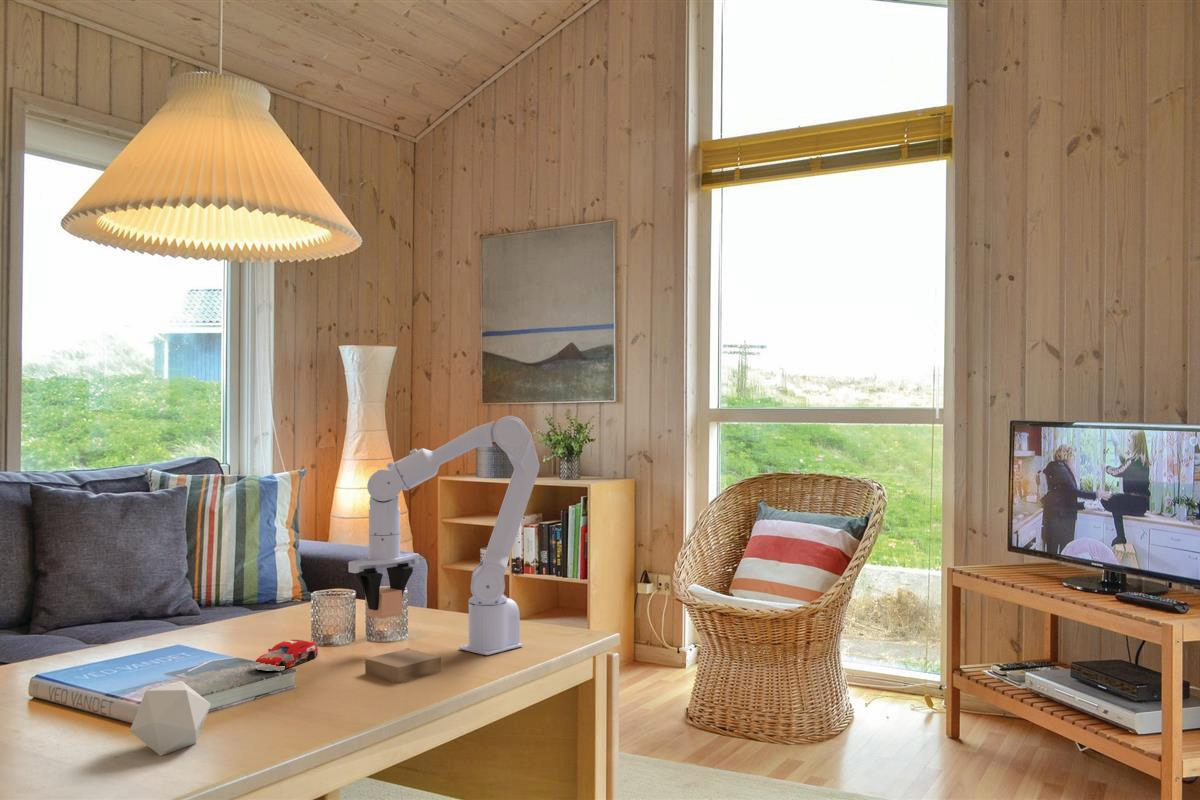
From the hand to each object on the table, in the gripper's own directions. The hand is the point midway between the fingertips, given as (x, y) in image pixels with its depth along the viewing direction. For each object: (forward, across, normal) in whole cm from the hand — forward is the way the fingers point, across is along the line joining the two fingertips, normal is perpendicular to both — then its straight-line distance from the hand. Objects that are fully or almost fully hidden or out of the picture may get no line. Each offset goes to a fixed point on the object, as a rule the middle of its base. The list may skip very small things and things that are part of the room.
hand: (384, 607), depth 174 cm
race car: (+9, +16, -7) cm, 20 cm away
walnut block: (+9, +6, +14) cm, 18 cm away
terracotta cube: (+1, 0, 0) cm, 1 cm away
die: (+9, +49, +20) cm, 54 cm away
